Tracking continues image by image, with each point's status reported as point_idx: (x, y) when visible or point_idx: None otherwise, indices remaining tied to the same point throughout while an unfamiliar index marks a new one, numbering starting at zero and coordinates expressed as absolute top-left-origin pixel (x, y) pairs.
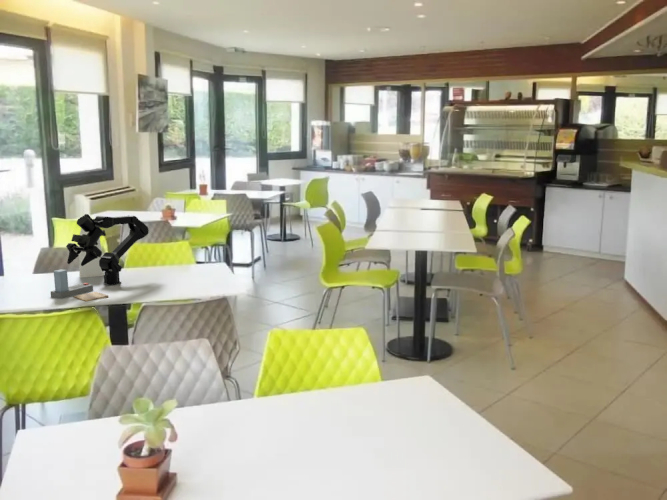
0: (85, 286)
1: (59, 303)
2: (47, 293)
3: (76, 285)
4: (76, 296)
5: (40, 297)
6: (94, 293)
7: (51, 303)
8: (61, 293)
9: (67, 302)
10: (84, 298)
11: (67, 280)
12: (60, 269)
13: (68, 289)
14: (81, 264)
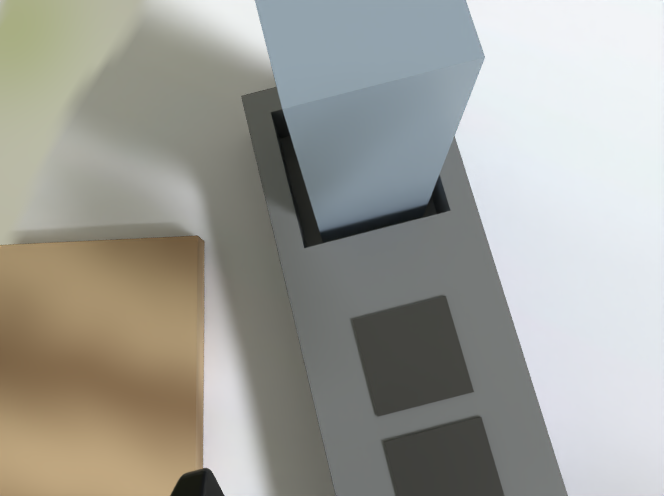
0: (349, 492)
1: (132, 58)
2: (656, 139)
3: (509, 429)
4: (161, 256)
5: (524, 21)
6: (119, 482)
7: (195, 6)
8: (243, 105)
9: (103, 127)
10: (3, 278)
11: (305, 181)
12: (468, 39)
13: (317, 223)
14: (177, 486)
